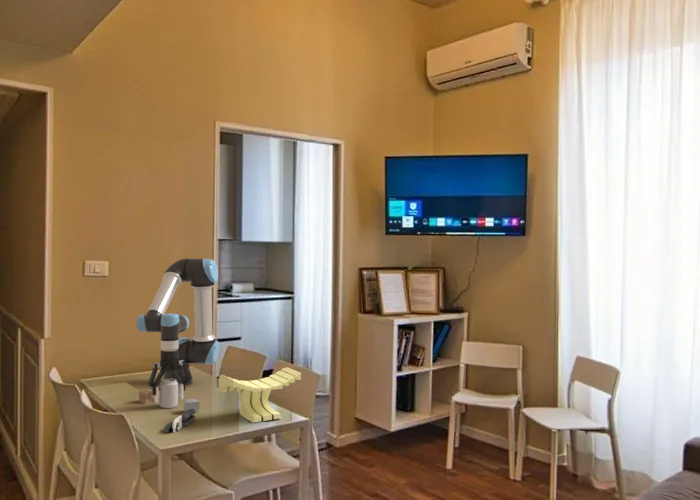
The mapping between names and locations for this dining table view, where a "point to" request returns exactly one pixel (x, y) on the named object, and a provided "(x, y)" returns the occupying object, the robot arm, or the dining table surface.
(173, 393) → the can
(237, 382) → the slatted curved stool
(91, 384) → the dining table surface
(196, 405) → the slate grey block
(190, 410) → the can opener
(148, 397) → the walnut block
